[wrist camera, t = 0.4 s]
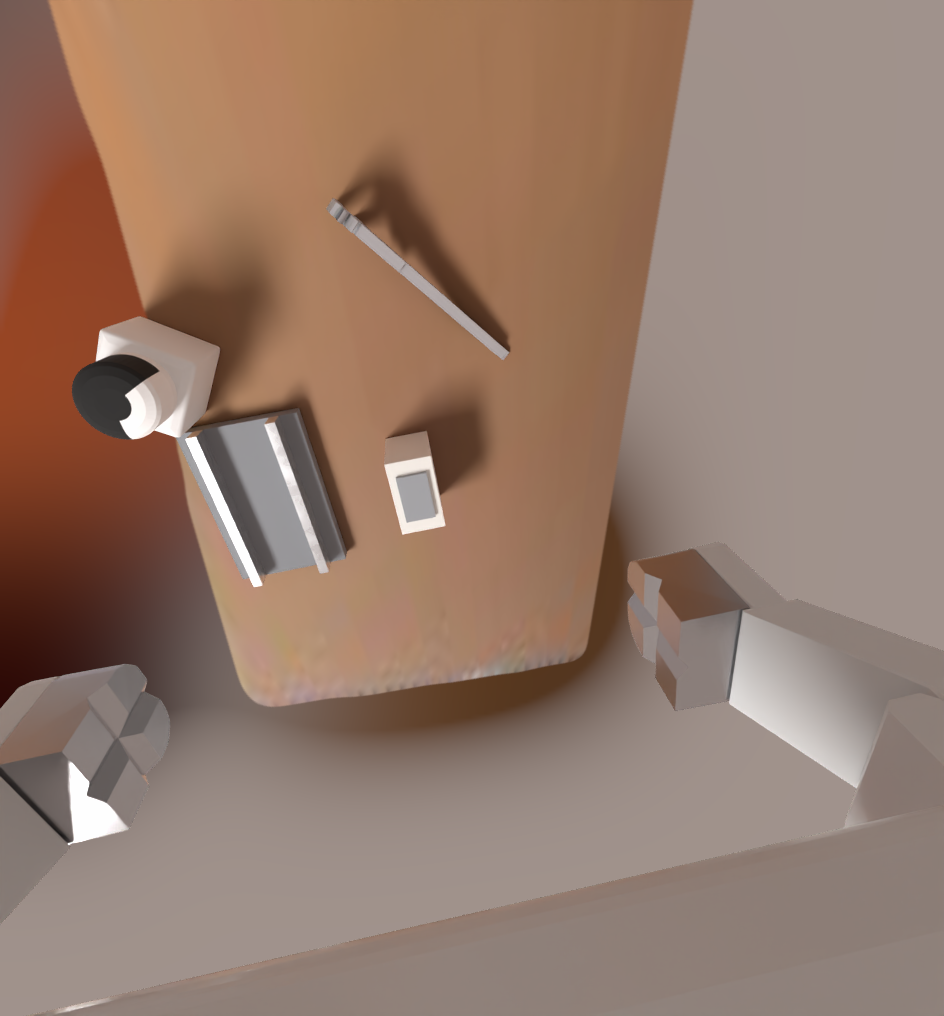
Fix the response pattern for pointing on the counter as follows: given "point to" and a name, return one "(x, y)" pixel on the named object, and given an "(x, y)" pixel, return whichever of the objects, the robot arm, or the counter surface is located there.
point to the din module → (413, 482)
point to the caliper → (412, 275)
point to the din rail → (230, 510)
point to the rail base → (268, 490)
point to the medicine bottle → (145, 380)
